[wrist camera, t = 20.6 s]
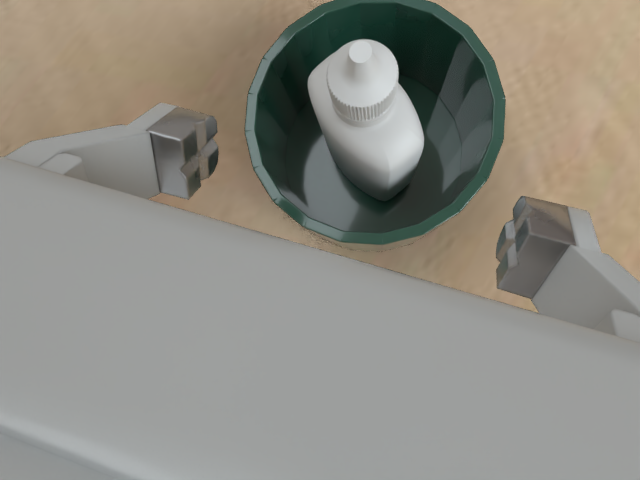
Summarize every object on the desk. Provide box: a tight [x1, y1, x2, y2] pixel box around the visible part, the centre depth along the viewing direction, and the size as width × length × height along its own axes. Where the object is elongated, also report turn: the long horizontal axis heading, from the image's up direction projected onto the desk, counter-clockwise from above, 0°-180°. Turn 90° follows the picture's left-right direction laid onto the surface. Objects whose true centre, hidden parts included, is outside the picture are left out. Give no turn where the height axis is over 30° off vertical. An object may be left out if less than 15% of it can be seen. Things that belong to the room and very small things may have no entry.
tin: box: [245, 0, 506, 252], centre depth 22 cm, size 11×11×7 cm
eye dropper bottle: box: [308, 39, 424, 201], centre depth 19 cm, size 4×6×12 cm
